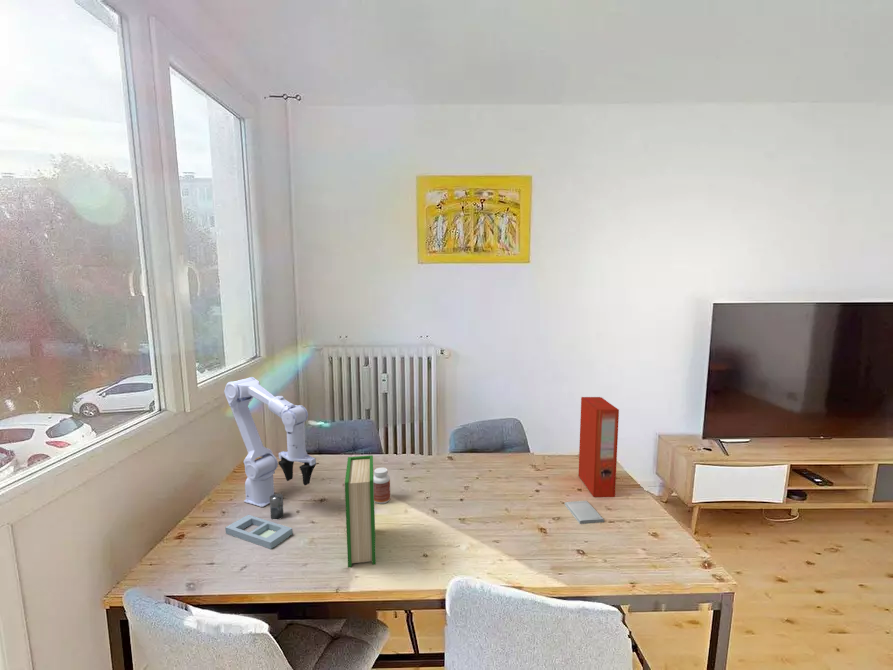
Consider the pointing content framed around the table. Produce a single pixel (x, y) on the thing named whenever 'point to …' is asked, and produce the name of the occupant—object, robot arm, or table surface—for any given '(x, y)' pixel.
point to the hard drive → (583, 512)
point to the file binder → (598, 446)
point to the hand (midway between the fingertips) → (298, 481)
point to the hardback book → (360, 510)
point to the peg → (276, 506)
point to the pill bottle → (381, 486)
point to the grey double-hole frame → (259, 531)
